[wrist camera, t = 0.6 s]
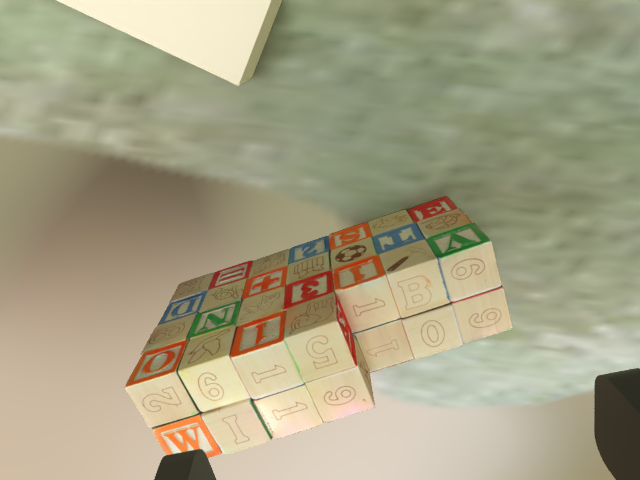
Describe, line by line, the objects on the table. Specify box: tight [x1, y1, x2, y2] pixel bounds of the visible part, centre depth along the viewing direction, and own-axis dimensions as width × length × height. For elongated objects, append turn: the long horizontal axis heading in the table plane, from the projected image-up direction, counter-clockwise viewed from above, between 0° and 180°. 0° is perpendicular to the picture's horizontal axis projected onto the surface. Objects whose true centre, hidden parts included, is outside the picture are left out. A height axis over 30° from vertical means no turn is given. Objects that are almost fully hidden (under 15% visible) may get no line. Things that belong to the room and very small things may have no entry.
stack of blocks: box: [125, 196, 513, 458], centre depth 31 cm, size 21×6×12 cm, turn 109°
